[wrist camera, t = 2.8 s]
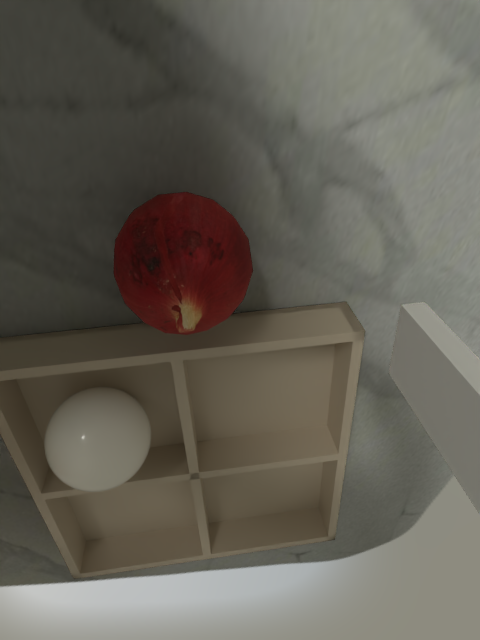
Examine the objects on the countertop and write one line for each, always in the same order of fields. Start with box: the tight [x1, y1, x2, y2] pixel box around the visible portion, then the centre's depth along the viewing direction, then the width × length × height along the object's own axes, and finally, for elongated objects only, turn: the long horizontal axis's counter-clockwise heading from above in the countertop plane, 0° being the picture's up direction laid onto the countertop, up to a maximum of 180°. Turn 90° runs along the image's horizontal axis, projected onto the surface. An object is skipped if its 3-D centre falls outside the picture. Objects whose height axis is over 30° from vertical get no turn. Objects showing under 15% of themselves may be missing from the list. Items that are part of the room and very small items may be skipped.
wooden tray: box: [0, 302, 365, 579], centre depth 28 cm, size 20×20×3 cm
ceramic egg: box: [44, 387, 151, 492], centre depth 24 cm, size 6×6×6 cm
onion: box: [114, 192, 253, 335], centre depth 18 cm, size 6×6×8 cm
